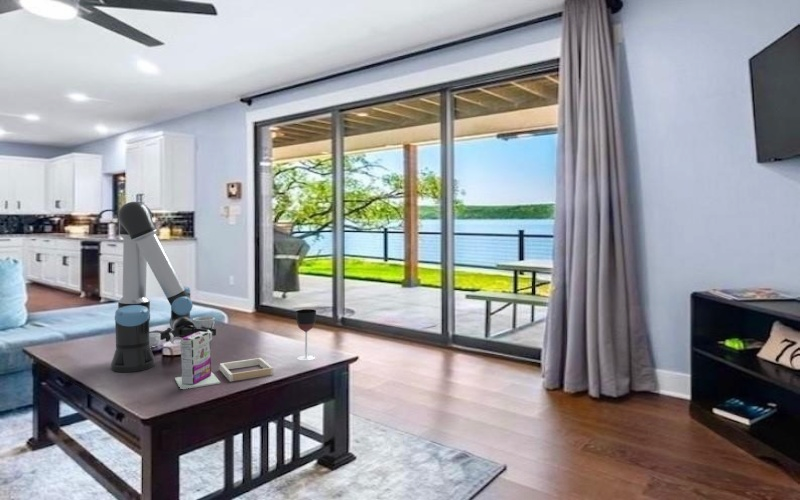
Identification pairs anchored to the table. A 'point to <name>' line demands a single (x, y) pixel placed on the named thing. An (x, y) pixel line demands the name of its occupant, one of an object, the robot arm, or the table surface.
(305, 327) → the wineglass
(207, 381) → the rubber mat
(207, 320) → the mug
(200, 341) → the candy bar box
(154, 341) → the teacup
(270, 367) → the cream rectangular open frame
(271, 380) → the table surface
